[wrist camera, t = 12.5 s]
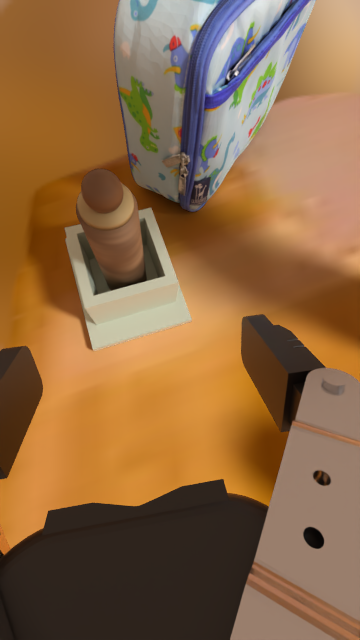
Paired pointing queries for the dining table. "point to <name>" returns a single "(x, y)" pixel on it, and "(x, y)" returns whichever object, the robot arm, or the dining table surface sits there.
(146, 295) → the caddy
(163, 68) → the lunch box
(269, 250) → the dining table surface
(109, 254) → the pepper mill
